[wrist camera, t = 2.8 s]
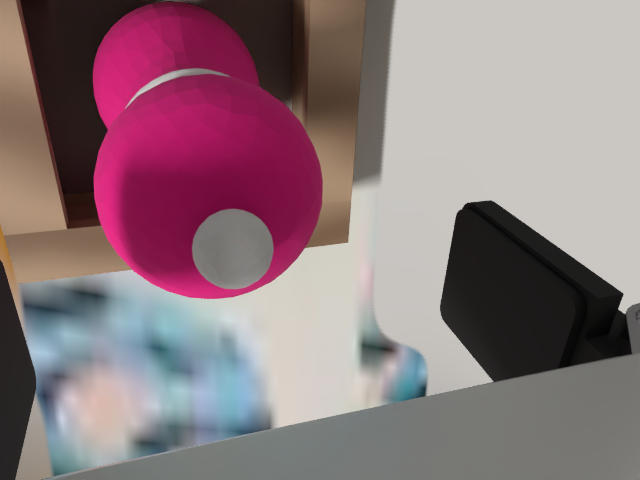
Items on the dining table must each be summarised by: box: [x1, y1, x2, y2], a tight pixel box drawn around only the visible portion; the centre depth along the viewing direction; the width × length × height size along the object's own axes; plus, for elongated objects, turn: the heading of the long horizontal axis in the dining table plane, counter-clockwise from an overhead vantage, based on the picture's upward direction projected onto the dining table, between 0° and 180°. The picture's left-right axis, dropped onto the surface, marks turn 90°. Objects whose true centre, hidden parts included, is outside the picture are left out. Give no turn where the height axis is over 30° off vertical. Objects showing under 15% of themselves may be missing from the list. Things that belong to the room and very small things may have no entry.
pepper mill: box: [93, 2, 323, 299], centre depth 19 cm, size 7×7×20 cm
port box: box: [0, 0, 366, 284], centre depth 25 cm, size 16×16×6 cm
